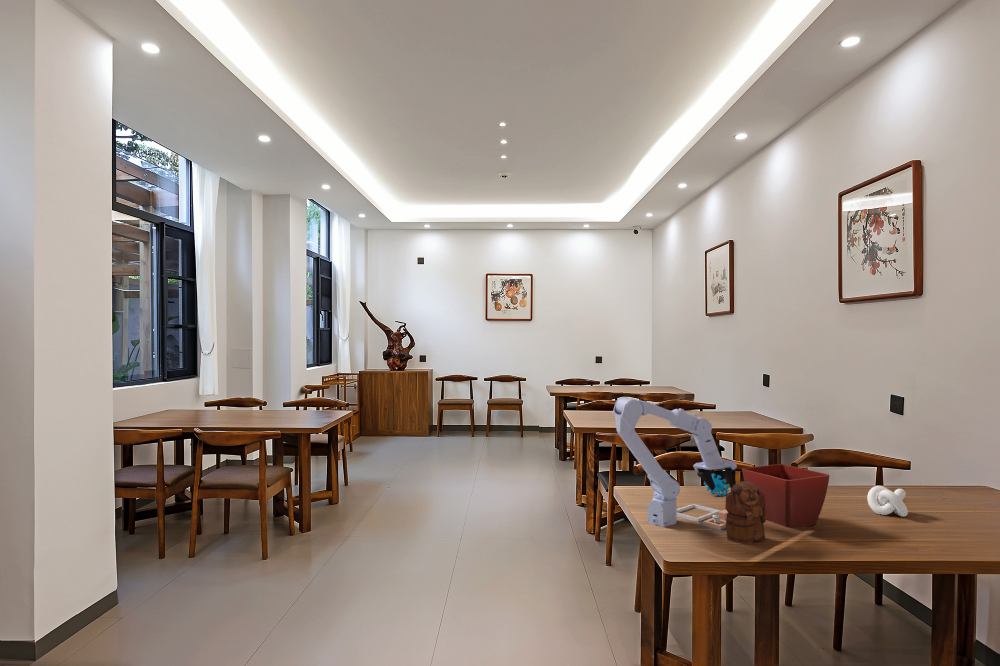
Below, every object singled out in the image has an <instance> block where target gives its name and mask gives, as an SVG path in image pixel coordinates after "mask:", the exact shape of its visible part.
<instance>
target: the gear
mask: <svg viewBox="0 0 1000 666" xmlns="http://www.w3.org/2000/svg"><path fill="white" fill-rule="evenodd" d="M711 475H712V479H713V481H714V484H715V488H714V489H713V490H711V489H710V488H709V487H708V485H707V484H706V483H705V482H704V481H703V485H704V486H706V490H707V491H709V492H710V493H711V495H713V496H714V495H715V494H716V492H717V495H716V496H717V497H718V498H719V497H721V496H723V497H726V496H727V494H728V493H729V491H730V490H729V488H730V485H729V483H727V479H726V478H723V479H722V476H721V474H717V475H716V473H714V472H711ZM716 476H717V477H716ZM726 483H727V484H726Z"/></svg>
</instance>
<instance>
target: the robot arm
mask: <svg viewBox="0 0 1000 666" xmlns="http://www.w3.org/2000/svg"><path fill="white" fill-rule="evenodd" d="M612 412H613V415H614V418H615V430H616V432H617V435H618V436H619V437H620V439H621V440H622V441H623V442H624V443H625V445H626V447H627V448H628V449H629V451H630V452H631V454H632V455H633V456H634V458H635V459H636V460H637V462H638V464H640V466H641V468H642V469H643V470H644V471H645V473H646V474H647V476H646V477H647V478H648V480H649V482H650V487H651V489H652V490H653V498H652V499H651V500H650V501H649V502H648V504H647V523H648V524H651V525H655V526H659V527H662V528H665V527H668V526H673V525H676V524H677V520H678V516H677V509H678V507H677V506H678V504H677V497H679V495H680V492H681V485H680V483H679V482H678V481H677V480H675V479H673V478H672V477H671V476H670V475H669V474H668V472H667V471H666V470H664V469H663V468H662V466H661V465H660V464H659V462H658V461H657V460H656V458H655V456H654V455H653V454H652V453H651V451H650V450H649V448H648V447H647V446H646V444H645V443H644V442H643V440H642V438H640V436H639V434H638V433H637V432H636V430H635V429H636V425H637V423H638V422H639V420H640V418H641V417H642V416H647V415H652V416H655V417H658V418H662V419H664V420H667V421H668V423H669V425H670V426H672V427H675V428H677V429H680V430H683V431H686V432H689V433H690V434H692V436H693V438H694V441H695V444H696V447H697V449H698V452H699V453H700V457H701V459H702V461H701V462H696V463H695V464H693V465H692V466H693V469H694V471H697V473H696V475H697V477H699V478H700V479H701V480H702V481H703V483H704V482H705V483H706V484H707V485H708V486H707V485H706V486H707V487H709V488H710V489H711V490H713V489H714V488H715V484H714V481H713V479H712V470H724V471H722V475H723V476H724V478H725V480H726V482H727V484H729V485H730V487H729V488H730V489H731V488H732V487H733V486H734V485H735V484H736V483H737V481H736V474H737V467H738V465H737V462H736V460H735V461H734V460H733V461H731V460H725V459H722V457H721V455H720V452H719V450H718V446H717V445H716V441H715V438H714V437H713V434H712V430H713V425H712V423H710V422H709V420H707V419H706V418H703V417H700V416H698V415H697V414H696V413H689V412H686V411H685V409H684V408H675V409H672V410H669V409H667V408H665V407H662V406H659V405H657V404H654V403H651V402H649V401H645V400H641V399H640V400H639V399H636V398H635V399H634V398H629V397H626V396H621V397H619V398H618V399H617V400H616V401H615V403H614V407H613V410H612Z"/></svg>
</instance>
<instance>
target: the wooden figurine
mask: <svg viewBox="0 0 1000 666" xmlns="http://www.w3.org/2000/svg"><path fill="white" fill-rule="evenodd" d="M725 510H727V512H728V514H727V517H726V531H725V532H726V539H727V541H729V542H732V543H736V544H744V545H745V544H746V545H751V544H752V545H753V544H754V543H759V542H760V543H761V542H765V541H766V534H765V527H764V524H765V522H766V521H767V520H766V509H765V497H764V494H763V493H762V492H761V491H759V489H758V488H757V486H756V485H754V484H753V483H750V482H746V481H744V480H743V481H739V482H736V484H735V485H734V486H733V487H732V488H730V492H728V493H726V495H725Z"/></svg>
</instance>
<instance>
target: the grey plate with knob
mask: <svg viewBox="0 0 1000 666" xmlns="http://www.w3.org/2000/svg"><path fill="white" fill-rule="evenodd" d="M712 518H714V523H715V524H719V519H720V518H721V516H719V515H713V516H712ZM719 525H720V524H719ZM695 526H697V527H700V528H703V529H708V530H710V531H714V532H718V533H723V534H724V533H725V532H726V528H724V529H722V530H719V529H715V528H712V527H708V526H704V525H703V522H700V523H698V524H695Z"/></svg>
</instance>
